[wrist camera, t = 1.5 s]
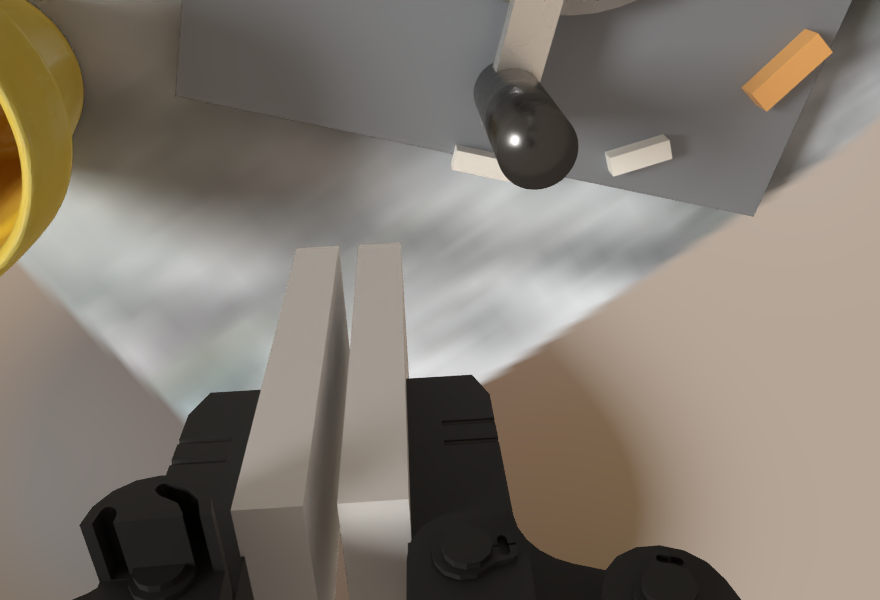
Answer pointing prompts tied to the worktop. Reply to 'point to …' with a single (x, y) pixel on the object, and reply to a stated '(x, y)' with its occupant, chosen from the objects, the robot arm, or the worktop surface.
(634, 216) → the worktop surface
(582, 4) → the dial
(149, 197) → the worktop surface
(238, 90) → the dial plate
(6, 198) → the plant pot
